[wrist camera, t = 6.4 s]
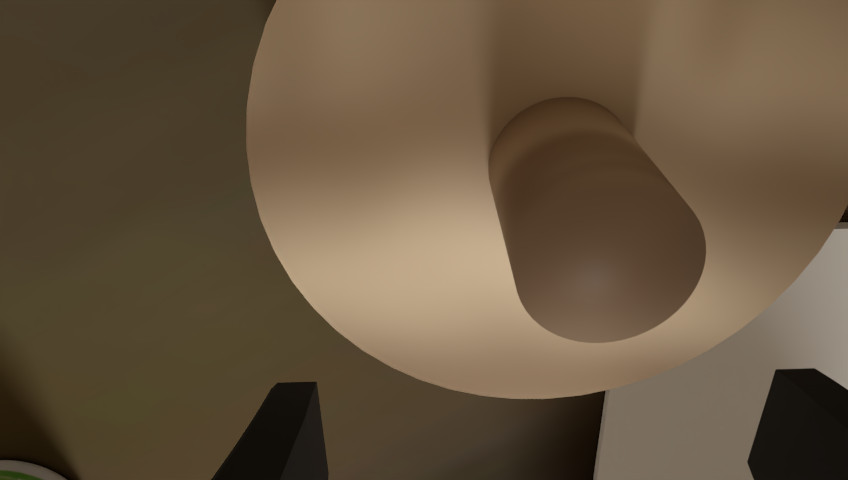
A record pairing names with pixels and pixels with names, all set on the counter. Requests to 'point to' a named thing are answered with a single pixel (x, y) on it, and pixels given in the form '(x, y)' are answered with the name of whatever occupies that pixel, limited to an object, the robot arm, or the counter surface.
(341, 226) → the lid
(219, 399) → the counter surface
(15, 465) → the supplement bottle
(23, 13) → the counter surface
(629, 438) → the mat
